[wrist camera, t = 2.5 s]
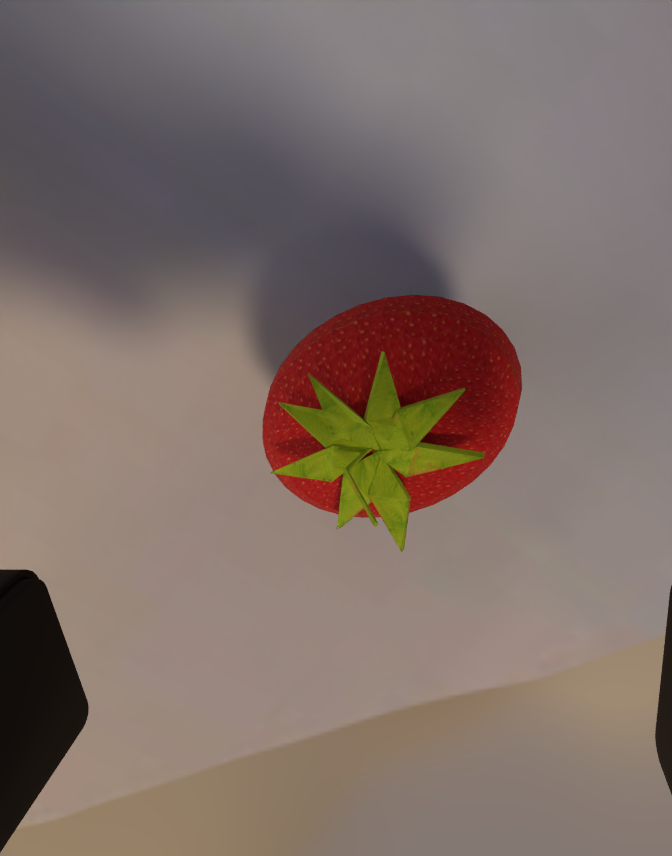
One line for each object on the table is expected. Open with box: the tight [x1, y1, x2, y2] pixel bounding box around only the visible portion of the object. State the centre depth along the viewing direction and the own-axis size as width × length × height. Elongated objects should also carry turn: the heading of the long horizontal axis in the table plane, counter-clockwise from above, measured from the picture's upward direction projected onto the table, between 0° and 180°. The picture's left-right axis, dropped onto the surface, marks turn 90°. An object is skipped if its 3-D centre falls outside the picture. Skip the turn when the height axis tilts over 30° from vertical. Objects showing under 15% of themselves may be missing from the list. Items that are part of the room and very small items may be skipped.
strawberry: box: [263, 295, 522, 552], centre depth 17 cm, size 6×8×10 cm
